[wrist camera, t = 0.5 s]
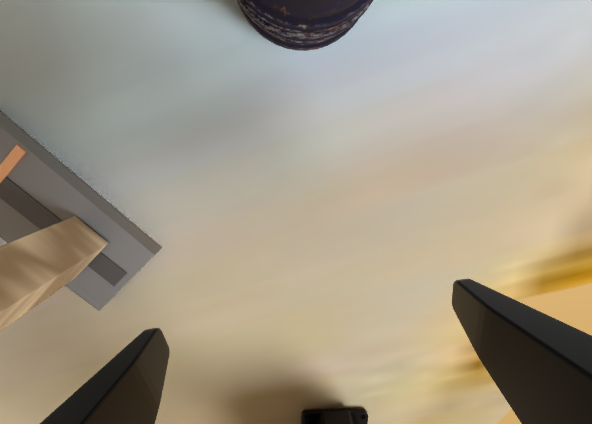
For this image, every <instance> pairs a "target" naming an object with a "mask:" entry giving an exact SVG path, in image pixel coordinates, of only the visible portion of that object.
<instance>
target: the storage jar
mask: <svg viewBox="0 0 592 424" xmlns="http://www.w3.org/2000/svg"><path fill="white" fill-rule="evenodd" d="M237 1H238V4H239V6H240V8H241V10H242V12H243V14H244V15H245V17H246V18H247V20H248V21H249V23H250V24H251V25H252V26H253V27H254V28H255V29H256V31H257V32H259V33H260V34H261V35H262V36H263V37H265V38H266V39H267V40H269V41H271V42H273V43H274V44H276V45H279V46H281V47H284V48H287V49H292V50H304V51H307V50H314V49H319V48H322V47H325V46H328V45H330V44H331V43H333V42H335V41H337V40H338V39H340V38H341V37H342V36H344V35H345V34H346V33H347V32H348V31H349V30H350V29H351V28H352V27H353V26H354V25H355V23H356V22H357V21H358V19H359V18H360V17H361V16H362V15H363V14H364V13H365V11H366V10H367V8H368V7H369V6H370V4H371V3H372V1H373V0H237Z"/></svg>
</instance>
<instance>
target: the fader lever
mask: <svg viewBox="0 0 592 424" xmlns="http://www.w3.org/2000/svg"><path fill="white" fill-rule="evenodd" d="M107 244H108V242H106V241H105V240H104V239H103V238H101V237H100V236H99V235H98V234H97V233H95V232H94V231H93V230H92V229H90V228H89V227H88V226H87V225H85V224H84V223H83V222H82V221H80V220H79V219H78V218H77V217H76V216H74V217H71V218H69V219H67V220H64V221H62V222H59V223H57V224H54V225H52V226H49V227H47V228H44V229H42V230H40V231H37V232H35V233H32V234H30V235H27V236H25V237H22V238H20V239H18V240H15V241H13V242H10V243H8V244H5V245H3V246H0V331H1V330H2V329H4V328H5V327H7V326H8V325H9V324H11V323H12V322H14V321H15V320H16V319H18V318H19V317H21V316H22V315H24V314H25V313H26V312H28V311H29V310H31V309H32V308H34V307H35V306H36V305H38V304H39V303H41V302H42V301H43V300H45V299H46V298H48V297H49V296H51V295H52V294H53V293H55V292H56V291H58V290H59V289H61V288H62V287H63V286H65V285H66V284H68V283H69V282H70V281H72V280H73V279H75V278H76V277H77V276H78V275H79V274H80V273H81V272H82V271H83V270H84V269H85V268H86V267H87V266H88V265H89V263H90V262H91V261H92V260H93V259H94V258H95V257H96V256H97V255H98V254H99V253H100V252H101V251H102V250H103V249H104V248H105V246H106V245H107Z"/></svg>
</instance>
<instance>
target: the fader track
mask: <svg viewBox="0 0 592 424" xmlns="http://www.w3.org/2000/svg"><path fill="white" fill-rule="evenodd" d="M74 216H76V217H77V218H78V219H79V220H80V221H82V222H83V223H84V224H85V225H87V226H88V227H89V228H90V229H92V230H93V231H94V232H95V233H97V234H98V235H99V236H100V237H101V238H103V239H104V240H105V241H106V242H108V244H107V245H106V246H105V248H104V249H103V250H102V251H101V252H100V253H99V254H98V255H97V256H96V257H95V258H94V259H93V260H92V261H91V262H90V263H89V265H88V266H87V267H86V268H85V269H84V270H83V271H82V272H81V273H80V274H79V275H78V276H77V277H76V278H75V279H73V280H72V281H70V282H69V283H68V284H66V285H65V286H66V287H68V288H69V289H70V290H72V291H73V292H74V293H76V294H77V295H78V296H80V297H81V298H82V299H84V300H85V301H86V302H88V303H89V304H90V305H92V306H93V307H95V308H96V309H97V310H101V309H102V308H103V307H104V306H105V305H106V304H107V303H108V302H109V301H110V300H111V299H112V298H113V297H114V296H115V295H116V294H117V293H118V292H119V291H120V290H121V289H122V288H123V287H124V286H125V285H126V284H127V283H128V282H129V281H130V280H131V278H132V277H133V276H134V275H135V274H136V273H137V272H138V271H139V270H140V269H141V268H142V267H143V266H144V265H145V264H146V263H147V262H148V261H149V260H150V259H151V258H152V257H153V256H154V255H155V254H156V253H157V252H158V251H159V250H160V249H161V248H162V247H161V246H159V245H158V244H157V243H156V242H155V241H154V240H152V239H151V238H150V237H149V236H148V235H146V234H145V233H144V232H143V231H142V230H141V229H139V228H138V227H137V226H136V225H135V224H133V223H132V222H131V221H130V220H129V219H127V218H126V217H125V216H124V215H123V214H122V213H120V212H119V211H118V210H117V209H116V208H114V207H113V206H112V205H111V204H110V203H109V202H107V201H106V200H105V199H104V198H103V197H101V196H100V195H99V194H98V193H97V192H95V191H94V190H93V189H92V188H91V187H90V186H88V185H87V184H86V183H85V182H84V181H82V180H81V179H80V178H79V177H78V176H77V175H75V174H74V173H73V172H72V171H71V170H69V169H68V168H67V167H66V166H65V165H64V164H62V163H61V162H60V161H59V160H58V159H56V158H55V157H54V156H53V155H52V154H50V153H49V152H48V151H47V150H46V149H45V148H43V147H42V146H41V145H40V144H39V143H37V142H36V141H35V140H34V139H33V138H32V137H30V136H29V135H28V134H27V133H26V132H24V131H23V130H22V129H21V128H20V127H19V126H17V125H16V124H15V123H14V122H13V121H11V120H10V119H9V118H8V117H7V116H5V115H4V114H3V113H2V112H1V111H0V237H1V238H2V239H3V240H5V241H6V242H8V243H10V242H13V241H15V240H18V239H20V238H22V237H25V236H27V235H30V234H32V233H35V232H37V231H40V230H42V229H44V228H47V227H49V226H52V225H54V224H57V223H59V222H62V221H64V220H67V219H69V218H71V217H74Z"/></svg>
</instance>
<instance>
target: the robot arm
mask: <svg viewBox="0 0 592 424" xmlns="http://www.w3.org/2000/svg"><path fill="white" fill-rule="evenodd" d="M452 306H453V309H454V311H455V313H456V315H457V317H458V319H459V321H460V323H461V325H462V327H463V328H464V330H465V332H466V334H467V336H468V338H469V340H470V342H471V344H472V346H473V348H474V350H475V351H476V353H477V355H478V357H479V359H480V360H481V362H482V363H483V365H484V366H485V368H486V370H487V371H488V373H489V374H490V376H491V377H492V379H493V380H494V382H495V383H496V385H497V386H498V388H499V389H500V391H501V393H502V394H503V396H504V397H505V399H506V400H507V402H508V403H509V405H510V406H511V408H512V409H513V411H514V412H515V414H516V415H517V417H518V419H519V420H520V422H521V423H522V424H592V336H591V335H589V334H587V333H585V332H582V331H580V330H578V329H576V328H574V327H571V326H569V325H567V324H565V323H563V322H561V321H559V320H557V319H555V318H552V317H550V316H548V315H546V314H544V313H541V312H540V311H537V310H535V309H533V308H531V307H529V306H526V305H525V304H522V303H520V302H518V301H516V300H514V299H512V298H510V297H507V296H505V295H503V294H501V293H499V292H497V291H495V290H492V289H490V288H488V287H486V286H484V285H482V284H480V283H477V282H475V281H473V280H471V279H462V280H456V281H455V282H454V284H453V294H452ZM168 358H169V346H168V344H167V342H166V340H165V337H164V335H163V333H162V331H161V330H160V329H159V328H153V329H147V330H145V331H143V332H142V333H141V334H140V335H139V336H138V337H136V338H135V339H134V340H133V341H132V342H131V343H130V344H129V345H127V346H126V347H125V348H124V349H123V350H122V351H121V352H120V353H119V354H117V355H116V356H115V357H114V358H113V359H112V360H111V361H110V362H108V363H107V364H106V365H105V366H104V367H103V368H102V369H101V370H100V371H98V372H97V373H96V374H95V375H94V376H93V377H92V378H91V379H89V380H88V381H87V382H86V383H85V384H84V385H83V386H82V387H80V388H79V389H78V390H77V391H76V392H75V393H74V394H73V395H72V396H70V397H69V398H68V399H67V400H66V401H65V402H64V403H63V404H61V405H60V406H59V407H58V408H57V409H56V410H55V411H54V412H52V413H51V414H50V415H49V416H48V417H47V418H46V419H45V420H44V421H42V422H41V423H40V424H154V423H155V420H156V416H157V413H158V409H159V405H160V400H161V395H162V390H163V385H164V380H165V374H166V369H167V364H168ZM367 422H368V414H367V411H366V410H364V409H340V410H304V411H303V412H302V417H301V424H367Z"/></svg>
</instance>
